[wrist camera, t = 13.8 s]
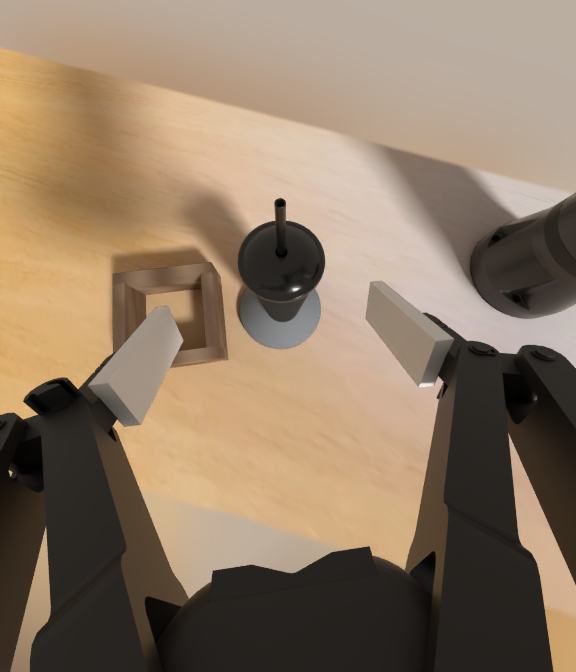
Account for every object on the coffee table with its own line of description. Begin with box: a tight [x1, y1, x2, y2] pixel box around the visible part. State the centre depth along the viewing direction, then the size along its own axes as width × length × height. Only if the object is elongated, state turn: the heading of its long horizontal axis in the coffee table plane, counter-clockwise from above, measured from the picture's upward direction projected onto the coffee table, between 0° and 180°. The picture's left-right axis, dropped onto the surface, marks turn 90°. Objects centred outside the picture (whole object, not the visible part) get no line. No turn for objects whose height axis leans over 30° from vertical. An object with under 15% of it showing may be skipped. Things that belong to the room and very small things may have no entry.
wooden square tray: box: [113, 262, 228, 368], centre depth 31 cm, size 13×13×4 cm
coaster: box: [240, 287, 321, 349], centre depth 33 cm, size 12×12×1 cm
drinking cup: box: [238, 198, 325, 322], centre depth 23 cm, size 8×8×20 cm
